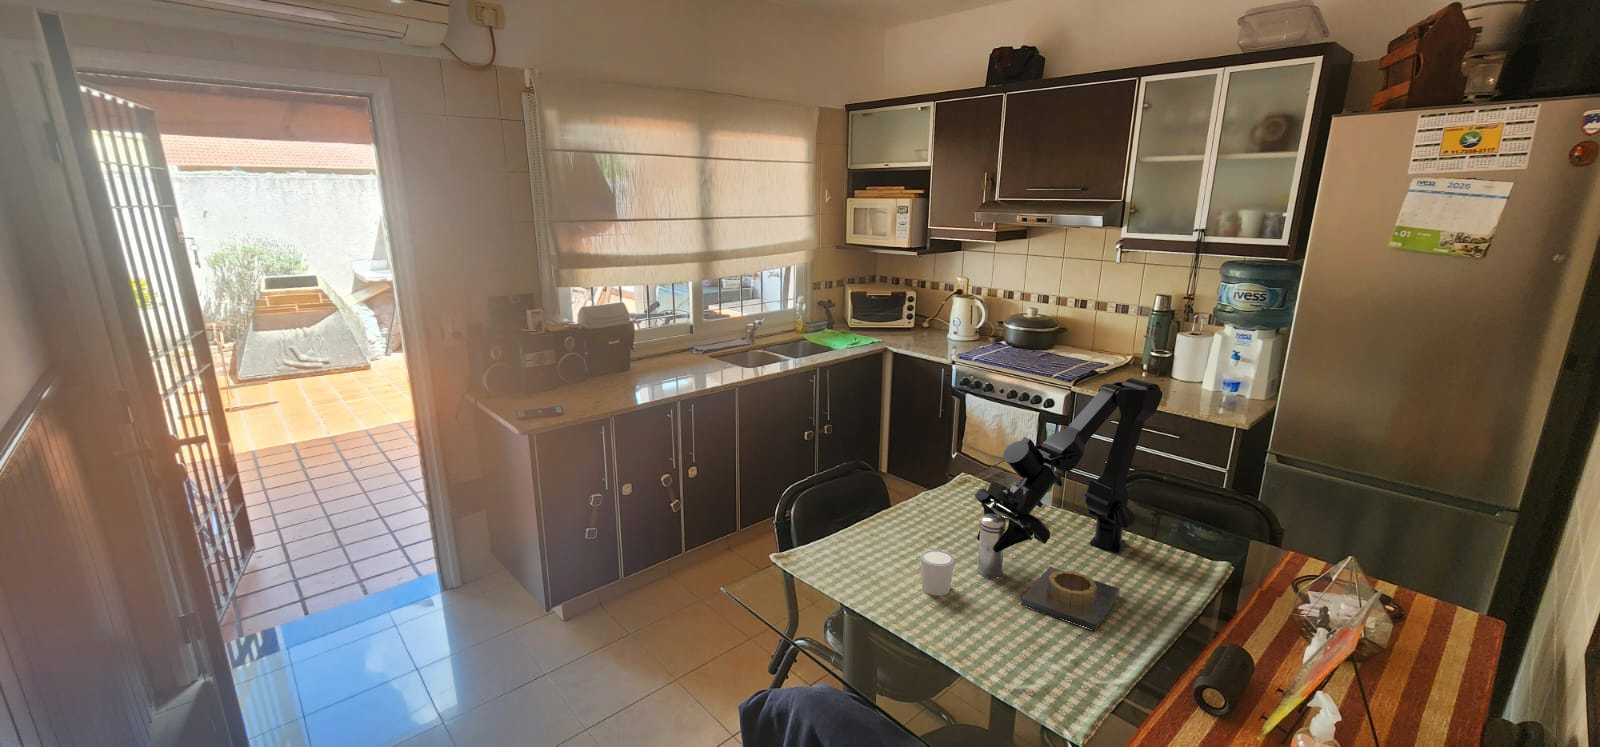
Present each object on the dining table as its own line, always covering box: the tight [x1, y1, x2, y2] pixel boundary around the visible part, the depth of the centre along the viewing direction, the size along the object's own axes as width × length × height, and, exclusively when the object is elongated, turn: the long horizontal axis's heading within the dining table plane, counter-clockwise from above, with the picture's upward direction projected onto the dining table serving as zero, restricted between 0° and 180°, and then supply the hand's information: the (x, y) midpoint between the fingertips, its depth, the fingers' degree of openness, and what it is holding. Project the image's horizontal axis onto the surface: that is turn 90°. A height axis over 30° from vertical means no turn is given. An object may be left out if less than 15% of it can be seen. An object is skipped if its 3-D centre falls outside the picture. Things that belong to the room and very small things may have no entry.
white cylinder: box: [919, 549, 956, 597], centre depth 137 cm, size 7×7×7 cm
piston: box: [977, 513, 1007, 579], centre depth 143 cm, size 5×5×12 cm
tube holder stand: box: [1020, 566, 1121, 632], centre depth 133 cm, size 16×14×4 cm
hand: (986, 545), depth 142 cm, fingers closed on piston, 5 cm apart
